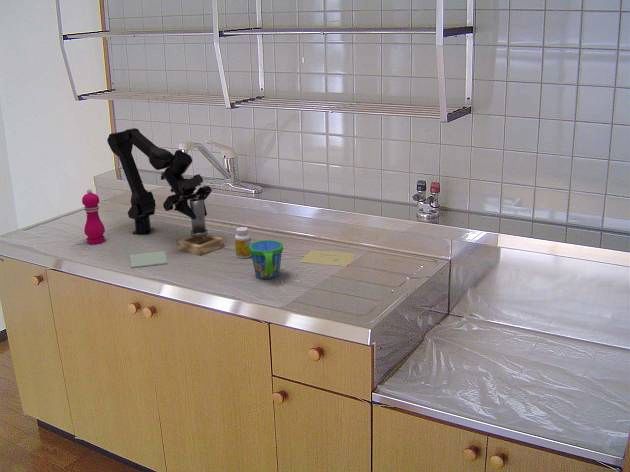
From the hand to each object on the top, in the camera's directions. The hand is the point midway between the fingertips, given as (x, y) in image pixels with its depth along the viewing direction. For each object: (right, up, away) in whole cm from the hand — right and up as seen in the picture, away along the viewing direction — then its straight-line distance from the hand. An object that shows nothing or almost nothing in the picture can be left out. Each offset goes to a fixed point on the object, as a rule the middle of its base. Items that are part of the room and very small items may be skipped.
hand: (200, 217), depth 243 cm
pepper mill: (-41, -9, +14) cm, 44 cm away
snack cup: (+25, -19, -22) cm, 39 cm away
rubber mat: (-17, -15, -6) cm, 23 cm away
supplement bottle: (+16, -14, -4) cm, 21 cm away
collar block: (-1, -11, +5) cm, 12 cm away
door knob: (-1, -6, +3) cm, 7 cm away
